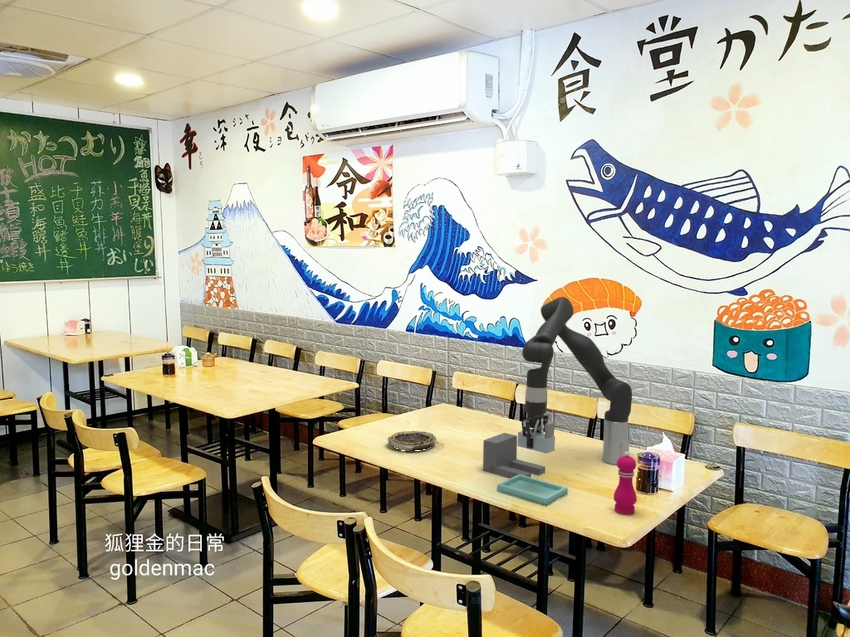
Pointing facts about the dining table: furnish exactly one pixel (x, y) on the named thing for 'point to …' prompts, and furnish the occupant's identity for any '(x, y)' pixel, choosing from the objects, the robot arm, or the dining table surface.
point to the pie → (412, 440)
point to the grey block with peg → (540, 439)
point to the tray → (532, 489)
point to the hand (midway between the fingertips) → (534, 446)
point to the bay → (506, 458)
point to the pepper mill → (625, 485)
